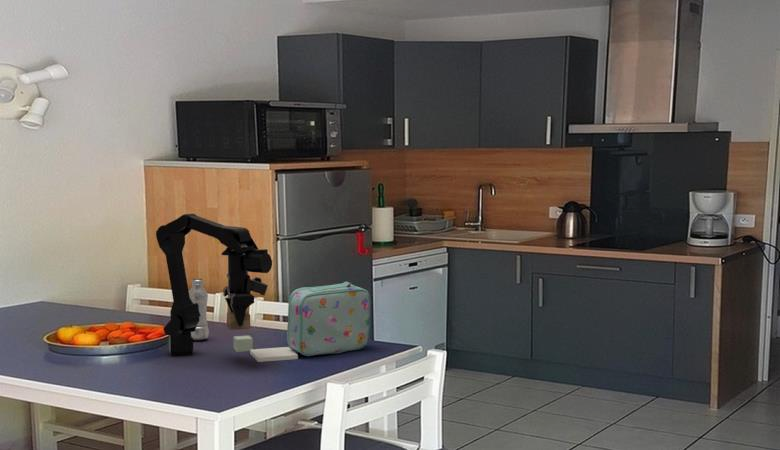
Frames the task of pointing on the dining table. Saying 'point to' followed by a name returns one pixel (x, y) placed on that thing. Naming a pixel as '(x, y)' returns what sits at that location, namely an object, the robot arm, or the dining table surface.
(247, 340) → the sage block
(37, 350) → the dining table surface
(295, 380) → the dining table surface
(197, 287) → the plastic bottle
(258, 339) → the dining table surface
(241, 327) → the walnut block
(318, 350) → the lunch box
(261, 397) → the dining table surface
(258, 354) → the base board
